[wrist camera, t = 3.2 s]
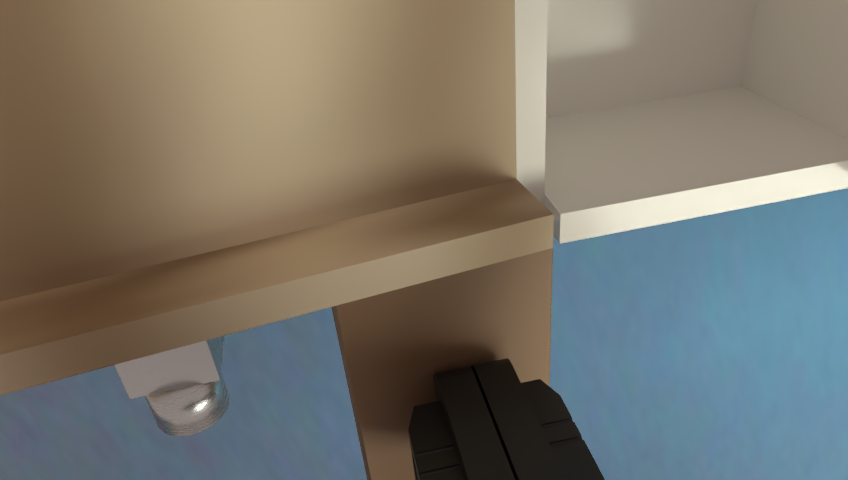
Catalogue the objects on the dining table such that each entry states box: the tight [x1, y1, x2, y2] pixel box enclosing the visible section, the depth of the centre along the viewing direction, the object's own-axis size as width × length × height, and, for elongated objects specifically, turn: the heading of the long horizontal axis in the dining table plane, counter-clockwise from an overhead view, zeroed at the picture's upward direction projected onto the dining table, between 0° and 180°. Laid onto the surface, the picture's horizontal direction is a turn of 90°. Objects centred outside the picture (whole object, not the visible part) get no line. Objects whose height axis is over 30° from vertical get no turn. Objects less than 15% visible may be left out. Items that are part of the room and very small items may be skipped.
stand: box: [115, 336, 229, 436], centre depth 12 cm, size 6×12×9 cm, turn 5°
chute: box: [0, 0, 554, 480], centre depth 12 cm, size 15×13×4 cm
